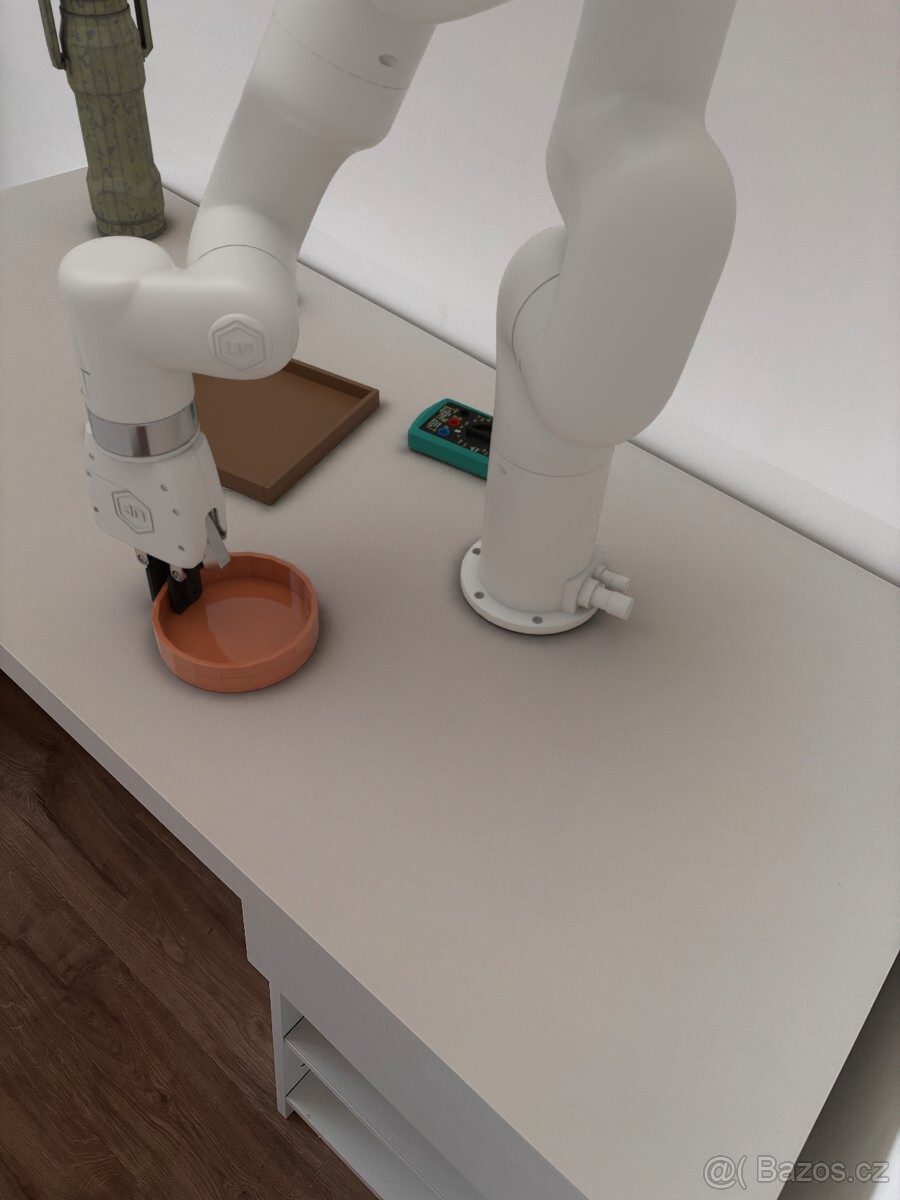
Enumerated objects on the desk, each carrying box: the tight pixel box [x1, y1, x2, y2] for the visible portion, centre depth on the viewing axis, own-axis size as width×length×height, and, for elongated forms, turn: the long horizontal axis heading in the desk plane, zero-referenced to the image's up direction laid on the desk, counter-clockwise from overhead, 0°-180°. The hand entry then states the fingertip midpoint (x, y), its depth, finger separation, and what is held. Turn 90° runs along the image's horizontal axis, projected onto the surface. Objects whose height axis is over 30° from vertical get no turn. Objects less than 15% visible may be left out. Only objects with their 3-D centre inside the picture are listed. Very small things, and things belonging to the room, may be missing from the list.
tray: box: [192, 357, 380, 506], centre depth 107 cm, size 21×19×2 cm
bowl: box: [151, 551, 320, 693], centre depth 86 cm, size 13×13×3 cm
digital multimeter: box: [407, 397, 493, 480], centre depth 104 cm, size 7×15×3 cm, turn 58°
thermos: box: [37, 0, 167, 241], centre depth 124 cm, size 9×12×35 cm
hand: (177, 597), depth 88 cm, fingers closed
